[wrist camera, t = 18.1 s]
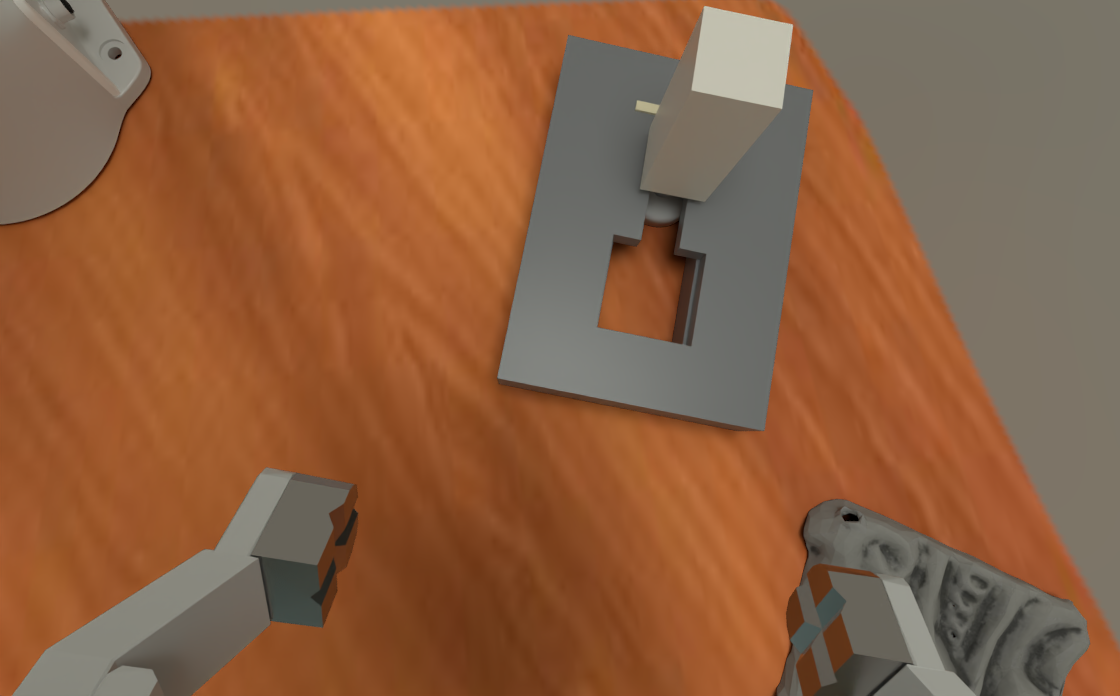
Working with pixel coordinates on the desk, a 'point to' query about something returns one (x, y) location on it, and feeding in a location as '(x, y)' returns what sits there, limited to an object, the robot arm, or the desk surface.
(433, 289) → the desk surface
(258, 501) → the robot arm
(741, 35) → the post
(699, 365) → the keyhole plate
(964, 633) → the wall plaque
